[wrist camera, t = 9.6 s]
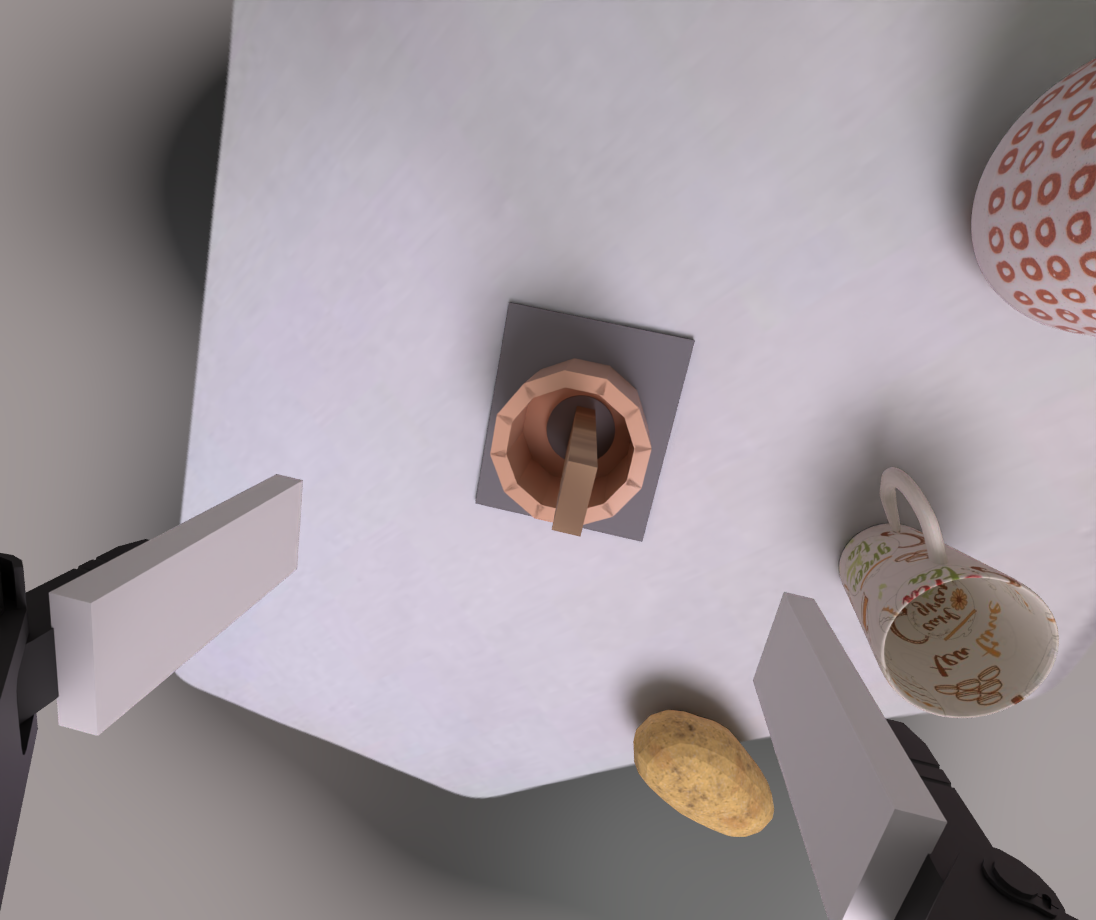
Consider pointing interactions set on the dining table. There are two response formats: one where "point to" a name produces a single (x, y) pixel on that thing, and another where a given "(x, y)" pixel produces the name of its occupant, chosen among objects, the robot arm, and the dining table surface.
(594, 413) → the long wooden stick
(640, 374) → the mat
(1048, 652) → the mug
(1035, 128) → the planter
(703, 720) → the potato
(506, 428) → the jar
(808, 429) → the dining table surface
